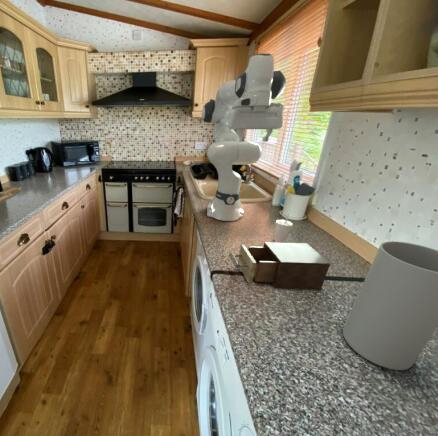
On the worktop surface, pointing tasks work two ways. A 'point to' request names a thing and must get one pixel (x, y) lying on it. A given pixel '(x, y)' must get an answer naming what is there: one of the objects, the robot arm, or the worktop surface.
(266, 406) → the worktop surface
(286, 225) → the smoothie
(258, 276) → the drawer
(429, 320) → the cylinder vase
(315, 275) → the cabinet
